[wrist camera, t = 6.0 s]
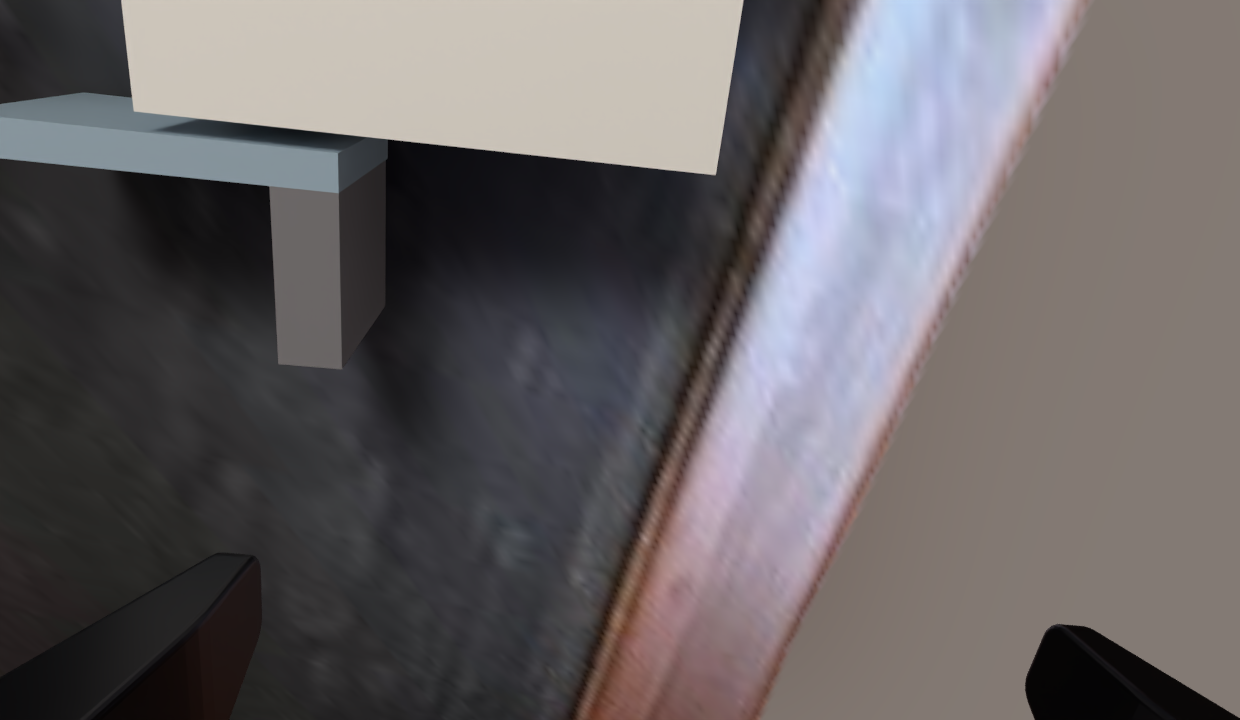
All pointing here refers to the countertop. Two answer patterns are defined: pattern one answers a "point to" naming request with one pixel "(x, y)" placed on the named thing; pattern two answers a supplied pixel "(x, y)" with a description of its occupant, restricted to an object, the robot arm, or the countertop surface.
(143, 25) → the camera housing
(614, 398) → the countertop surface
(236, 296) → the countertop surface
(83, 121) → the grey l-shaped block
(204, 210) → the countertop surface
